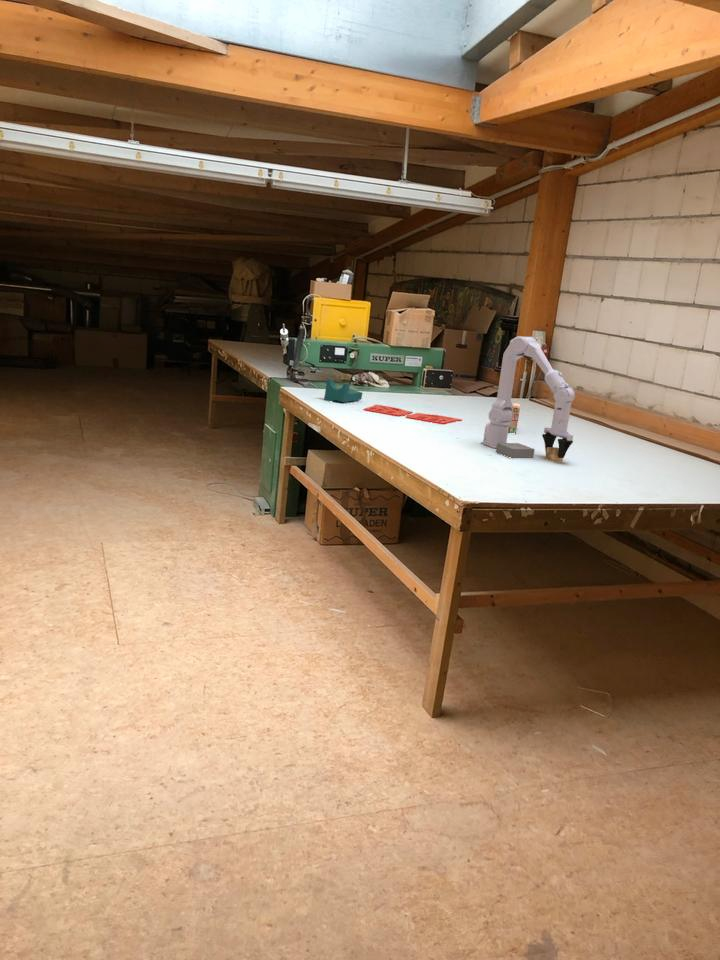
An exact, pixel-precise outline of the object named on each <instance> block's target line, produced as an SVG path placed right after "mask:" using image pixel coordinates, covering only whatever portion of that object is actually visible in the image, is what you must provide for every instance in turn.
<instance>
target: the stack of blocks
mask: <svg viewBox="0 0 720 960" xmlns="http://www.w3.org/2000/svg"><path fill="white" fill-rule="evenodd" d="M512 404H513V413H514V417H513V419H512V420H511V421H510V423H509V429H508V434H509V433H515V434H514V435H517V429H518V423H519V417H520V410H521V405H520V403H515V402H512Z"/></svg>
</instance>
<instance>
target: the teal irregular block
mask: <svg viewBox="0 0 720 960" xmlns="http://www.w3.org/2000/svg"><path fill="white" fill-rule="evenodd" d="M362 397H363V392H362V391H358V390H354V389H351V388H350V383H348V382H345V383H343V384H342V386H341V387H337V386H336V385H335V379H334V378H327V381H326V385H325V391H324V397H323V401H327V400H328V401H327V402H330V401H332V402H331V403H337V402H341V403H347V402H354V401H360V400H362ZM336 401H337V402H336Z"/></svg>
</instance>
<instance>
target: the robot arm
mask: <svg viewBox="0 0 720 960" xmlns="http://www.w3.org/2000/svg"><path fill="white" fill-rule="evenodd" d="M502 355H503V356H502V360H501V362H502V363H501V367H500V368H501V370H500V374H499V383H498V388H497V395H496V399H495V401H494V402H493V403H492V405H491V409H490V410H489V412H488V419H489V421H490V422H488V423H486V426H484V432H483V439H482V441H480V443H481V444H483V445H486V446H488V447H489V448H493V449H496V447H497V443H508V435H509V433H508V429H509V423H510V421H511V420H512V419H513V417H514V413H513V404H512V403H513V402H512V394H513V390H514V389H513V387H514V381H515V374H516V368H517V361H518V360H520V359H521V358H523V357H524V356H526V357H529V358H532V359H533V360H534V362H535V363H536V364H537V366H538V367H539V368H540V370H541V371H542V372H543V374H544V381H545V382H546V384H547V385H548V387H549V388H550V390H551V392H552V393H553V399H554V403H555V404H554V409H553V415H552V420H551V427H544V429H543V434H542V436H541V437H542V439H543V441H544V449H545V453H546V451H547V447H554V443H555V442H556V440H557V443H558V448H559V451H558V458H563V459H564V458H565V456H566V454H567V451H568V449H569V448H570V446H571V445H572V444H573V442H574V440H573V439H574V435H572V434H571V433H569V431H568V426H569V420H570V413H571V409H572V408H571V407H572V402H574V400H575V399H576V392H575V389H574V388H573V387H571V386H570V384H569V383H567V382H566V381H565V379H564V378H563V373H562V372H561V371H559V370H558V369H557V370H556V369H553V366H552V365H551V364H550V361H549V360H548V358H547V356H546V355H545V353H544V351H543V350H542V347H541V344H540V343H539V342H538V341H537V340H536V338H535V337H533V336H521V335H518V336H516V337H514V338H512V339H511V340H509V344H508V346H507V348H506V349H505V351H504V352H503V354H502Z"/></svg>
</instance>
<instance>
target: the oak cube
mask: <svg viewBox="0 0 720 960" xmlns="http://www.w3.org/2000/svg"><path fill="white" fill-rule="evenodd" d="M558 451H559V447H554V446H553V447H547V451H546V452H545V457H544V459H545V460H547V459H548V461H550V460H551V461H550V462H552V461H562V462H563V459H564V458H558Z"/></svg>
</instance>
